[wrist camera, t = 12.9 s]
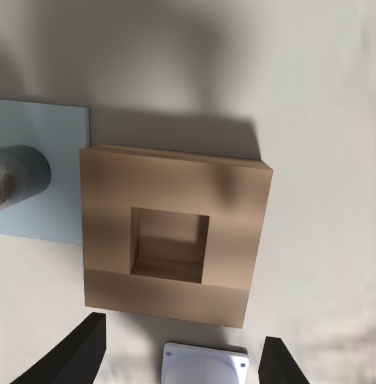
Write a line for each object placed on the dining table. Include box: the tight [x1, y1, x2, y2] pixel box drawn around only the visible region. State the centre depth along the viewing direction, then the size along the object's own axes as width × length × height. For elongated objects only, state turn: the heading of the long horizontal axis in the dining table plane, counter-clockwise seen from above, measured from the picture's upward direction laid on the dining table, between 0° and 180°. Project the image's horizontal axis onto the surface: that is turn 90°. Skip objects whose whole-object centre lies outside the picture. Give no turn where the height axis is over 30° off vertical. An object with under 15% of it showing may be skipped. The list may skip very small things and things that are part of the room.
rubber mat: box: [0, 99, 90, 245], centre depth 20 cm, size 11×10×1 cm
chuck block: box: [79, 144, 273, 329], centre depth 19 cm, size 12×12×4 cm
